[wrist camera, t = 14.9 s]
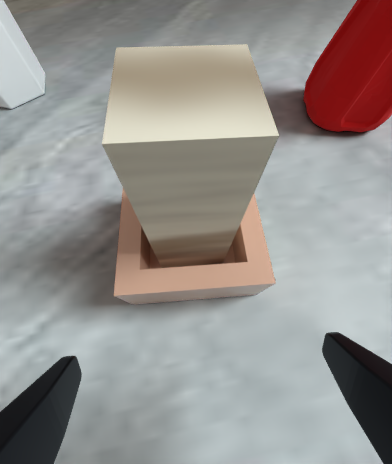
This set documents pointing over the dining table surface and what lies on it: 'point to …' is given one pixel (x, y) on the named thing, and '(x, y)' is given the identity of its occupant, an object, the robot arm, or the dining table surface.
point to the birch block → (188, 144)
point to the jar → (17, 64)
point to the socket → (190, 277)
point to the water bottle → (354, 72)
